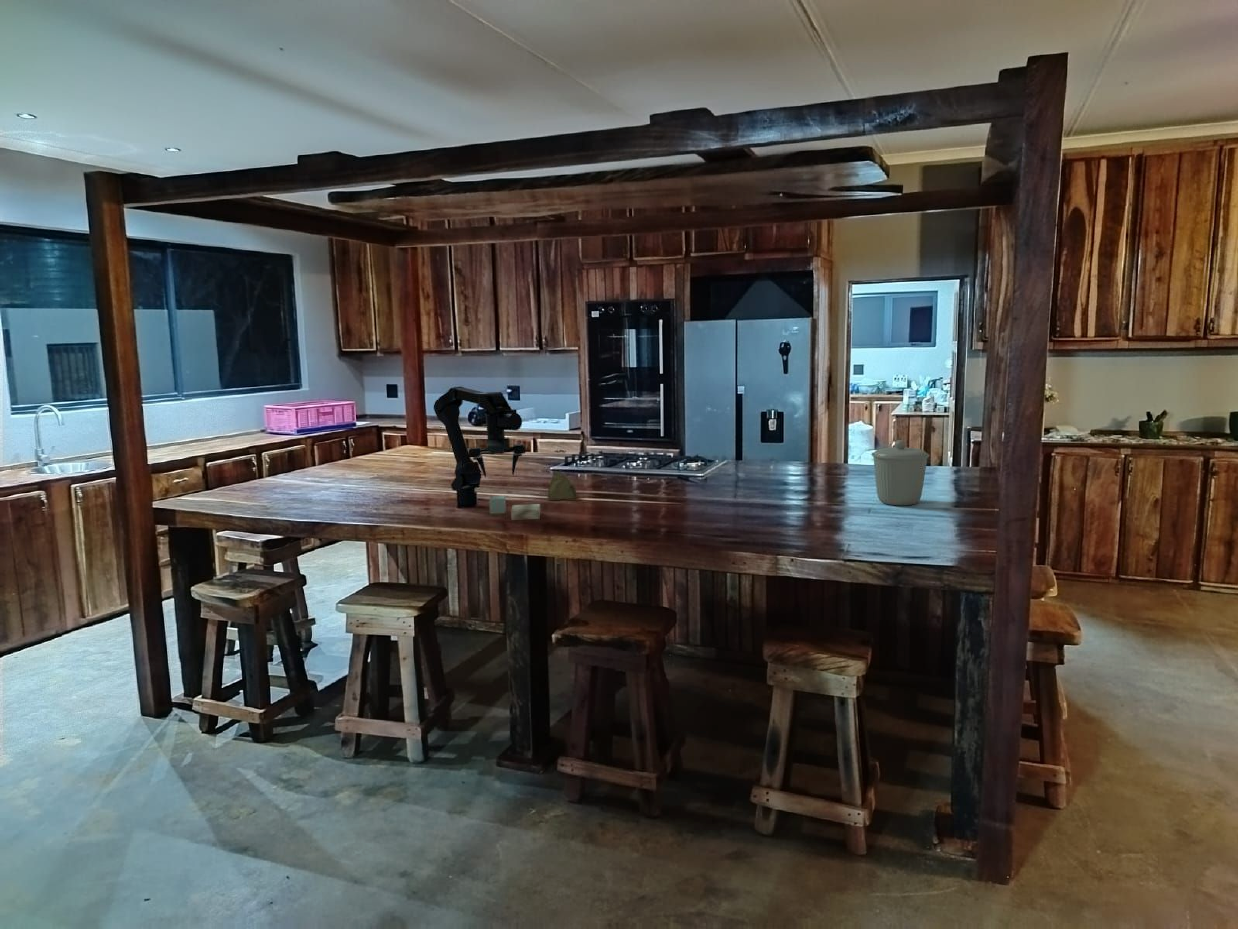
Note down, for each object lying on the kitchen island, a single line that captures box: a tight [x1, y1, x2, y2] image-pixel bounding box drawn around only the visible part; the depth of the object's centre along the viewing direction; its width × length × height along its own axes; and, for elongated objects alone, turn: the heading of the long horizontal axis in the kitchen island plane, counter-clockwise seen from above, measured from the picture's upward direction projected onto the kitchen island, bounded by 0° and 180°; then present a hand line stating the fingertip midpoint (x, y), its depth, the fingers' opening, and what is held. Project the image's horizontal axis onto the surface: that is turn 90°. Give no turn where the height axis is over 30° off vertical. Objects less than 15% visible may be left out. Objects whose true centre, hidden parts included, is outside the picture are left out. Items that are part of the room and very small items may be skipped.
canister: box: [870, 439, 930, 507], centre depth 268 cm, size 18×18×21 cm
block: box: [488, 495, 507, 515], centre depth 274 cm, size 5×5×5 cm
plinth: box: [510, 503, 541, 521], centre depth 266 cm, size 9×9×3 cm
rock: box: [546, 471, 579, 501], centre depth 293 cm, size 11×9×10 cm
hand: (499, 475), depth 273 cm, fingers open, 9 cm apart
